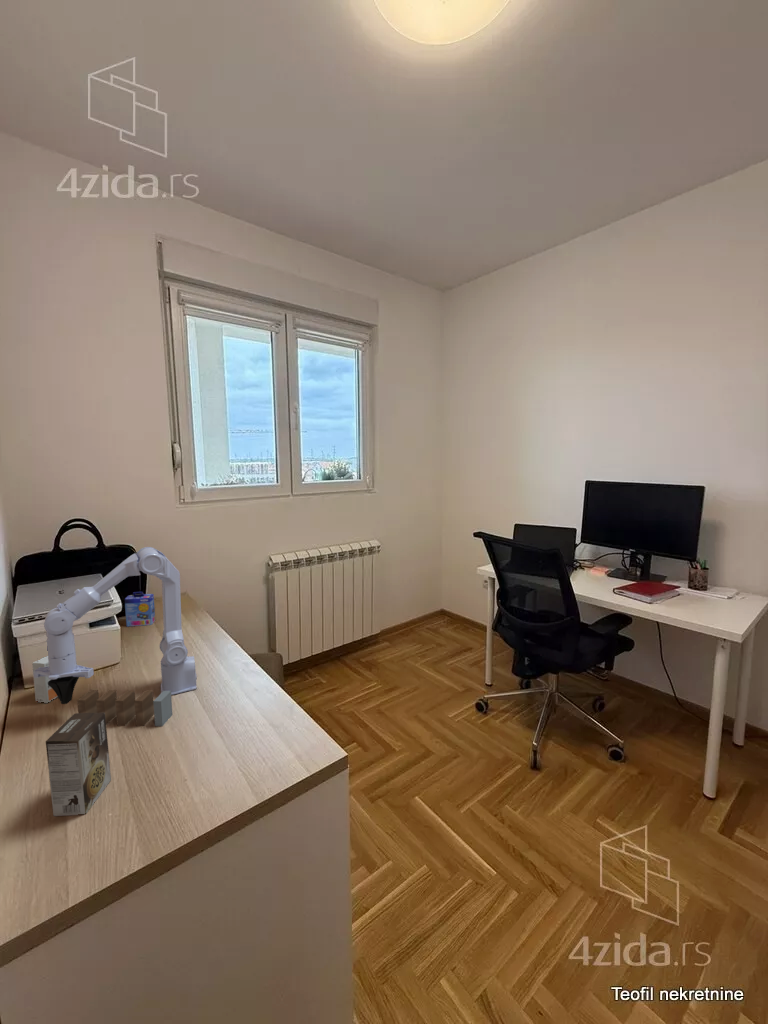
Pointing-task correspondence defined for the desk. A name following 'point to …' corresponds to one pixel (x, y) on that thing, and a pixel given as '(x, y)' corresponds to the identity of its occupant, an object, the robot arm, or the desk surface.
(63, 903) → the desk surface
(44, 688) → the skincare box
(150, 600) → the ink cartridge box
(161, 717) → the domino
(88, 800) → the coffee box
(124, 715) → the domino
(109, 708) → the domino
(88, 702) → the domino
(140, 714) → the domino
